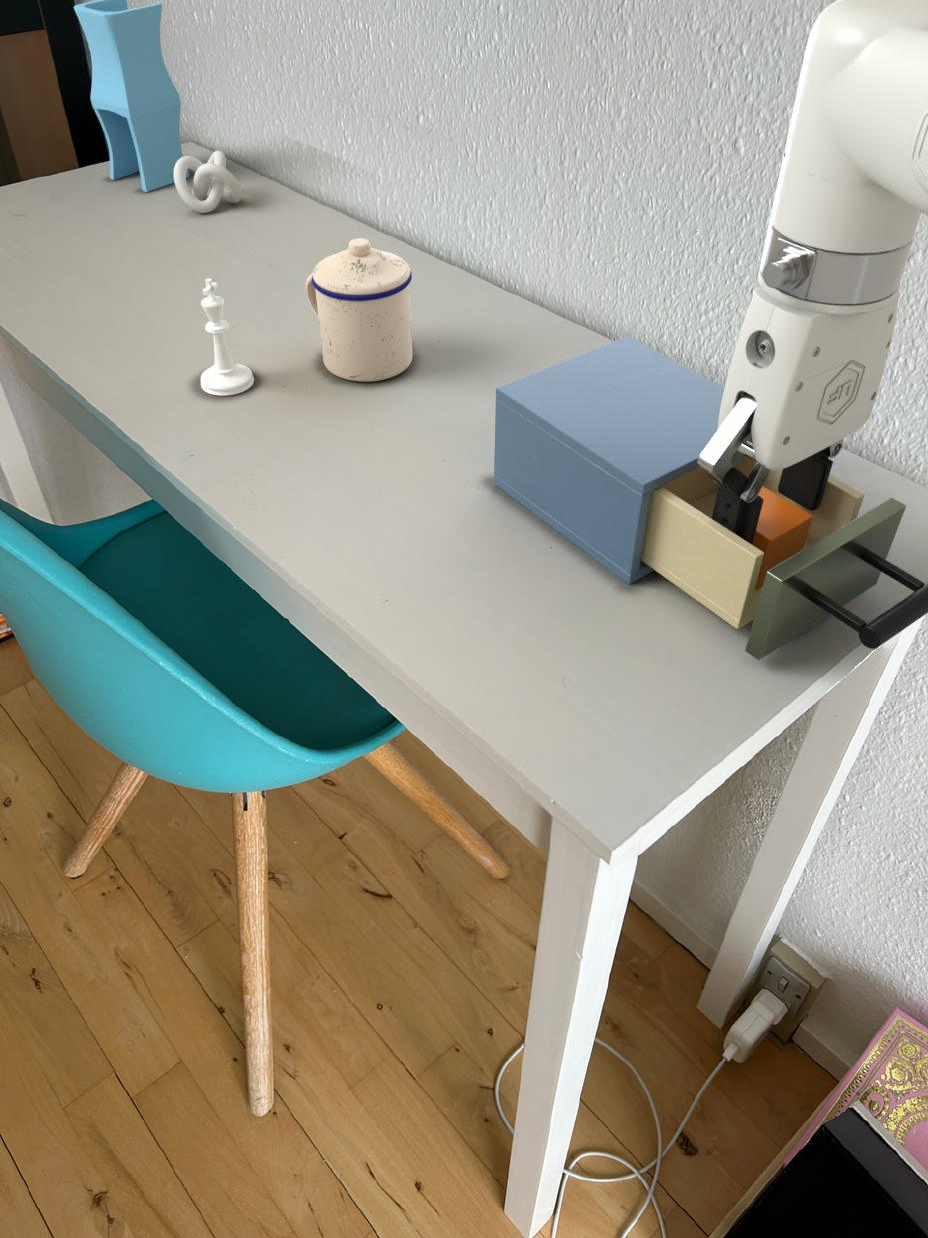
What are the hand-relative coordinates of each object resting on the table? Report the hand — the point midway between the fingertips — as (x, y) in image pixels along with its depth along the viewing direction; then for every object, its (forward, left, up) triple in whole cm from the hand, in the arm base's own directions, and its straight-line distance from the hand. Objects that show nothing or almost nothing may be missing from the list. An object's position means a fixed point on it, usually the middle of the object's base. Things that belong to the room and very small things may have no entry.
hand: (765, 516), depth 66 cm
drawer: (-1, +1, -5) cm, 5 cm away
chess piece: (+49, -16, -6) cm, 52 cm away
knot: (+70, -56, -6) cm, 90 cm away
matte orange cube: (0, 0, -4) cm, 4 cm away
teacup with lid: (+39, -24, -6) cm, 46 cm away
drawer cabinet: (+10, -8, -6) cm, 14 cm away
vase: (+83, -63, -6) cm, 104 cm away
